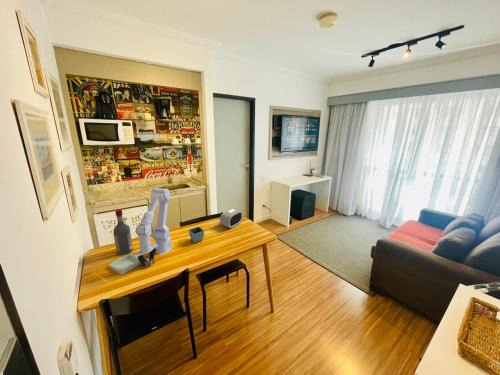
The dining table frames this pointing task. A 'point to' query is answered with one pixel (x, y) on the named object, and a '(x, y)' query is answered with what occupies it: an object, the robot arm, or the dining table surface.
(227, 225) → the alarm clock
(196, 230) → the flower pot
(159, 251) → the robot arm
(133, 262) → the tray
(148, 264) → the ring
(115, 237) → the liquor
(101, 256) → the dining table surface
